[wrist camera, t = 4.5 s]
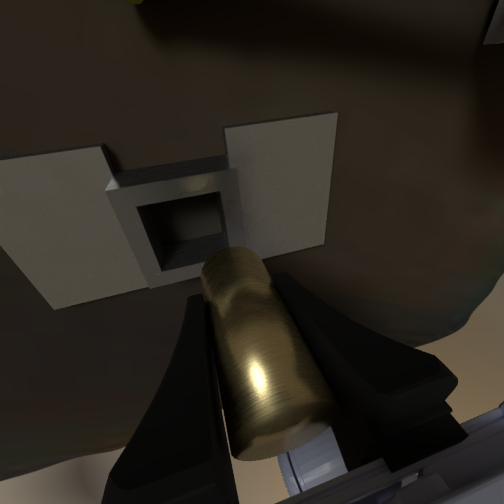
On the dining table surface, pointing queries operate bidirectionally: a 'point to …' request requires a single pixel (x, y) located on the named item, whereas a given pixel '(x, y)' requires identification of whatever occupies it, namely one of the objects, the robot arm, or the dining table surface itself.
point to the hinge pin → (261, 360)
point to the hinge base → (159, 190)
